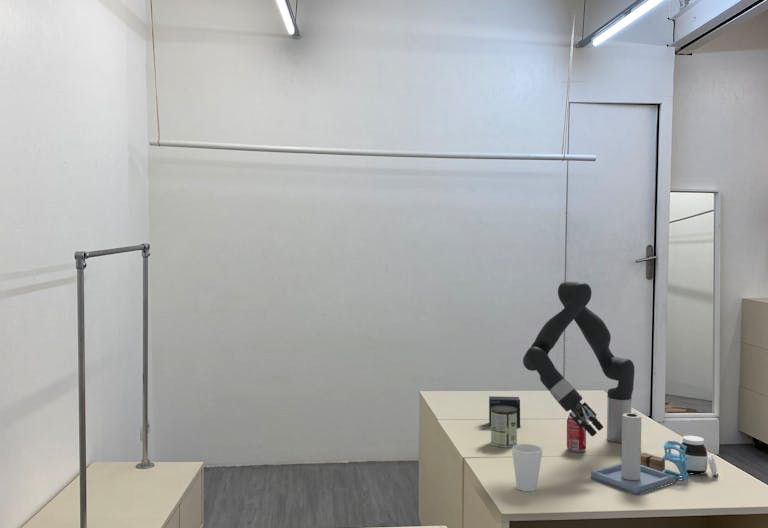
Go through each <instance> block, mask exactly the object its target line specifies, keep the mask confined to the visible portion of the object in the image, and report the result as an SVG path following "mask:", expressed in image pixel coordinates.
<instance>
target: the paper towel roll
mask: <svg viewBox="0 0 768 528" xmlns="http://www.w3.org/2000/svg"><path fill="white" fill-rule="evenodd" d="M641 453H642V415H641V414H638V413H637V412H633V413H632V412H631V413H625V414H623V415H622V443H621V459H620V460H621V462H620V463H621V476H622V478H624V479H627V480H639V479H640V472H641Z"/></svg>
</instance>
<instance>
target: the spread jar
mask: <svg viewBox="0 0 768 528" xmlns="http://www.w3.org/2000/svg"><path fill="white" fill-rule="evenodd" d="M681 444H682V445H684V446H686V447H687V448H686V451H685V455H686V456H687V459H686V460H685V465H686V469H687V473H688V474H689V473H693V474H692V475H696V474H699V475H702V474H701V473H703V474H704V473H706V472H707V470H708V465H709V469H710V471H711V474H712V476H713V475H716V476H718V475H717V473H716V472H718V468H717V464H716V461H715V459H714V457H713V455H712V454H710V455H709V454H708V450H707V448H706V446H705V439H704V437H701V436H696V435H684V436H682V442H681ZM678 448H679V449H681V450H684V449H683V448H682V447H681V446H679V447H678ZM678 452H679V451H678ZM678 455H680V452H679V453H678ZM682 455H683V453H682ZM718 473H719V472H718Z"/></svg>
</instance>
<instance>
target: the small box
mask: <svg viewBox="0 0 768 528" xmlns="http://www.w3.org/2000/svg"><path fill="white" fill-rule="evenodd" d="M500 405H504V406H512V407H515V408H517V428H521V399H520V397H519V396H493V395H492V396H491V395H490V396H488V417H489V418H488V420H489V421H488V424H489V423H490V424H489V427H490V426H491V407H493V406H500Z"/></svg>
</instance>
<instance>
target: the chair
mask: <svg viewBox="0 0 768 528" xmlns="http://www.w3.org/2000/svg"><path fill="white" fill-rule="evenodd" d="M681 443H682V442H681ZM681 443H680V442H678V441H675V440H666V441H665V443H664V445H663V448H664V455H663V456H662V458H663V460H665V461H669V462H670V463H673V465H675V466H676V468H677V469H678V471H679V472H677V471H674V470H671V469H668V468H667V469H666V468H665V469H664V470H663V471H662V472H664V473H665V472H666V473H667V472H668V473H667V474H670V473H672V474H671V475H673V474H675V475H674V476H675V479H682V480H681V481H684V480H687V481H688V479H689V473H687V469H686V465H685V460H686V459H687V456H686V455H685V451H686V448H687V447H686V446H684V445H682V444H681ZM678 446H679V447H678ZM680 446H681V447H682V448H683V449H684V450H681V449H679V448H680ZM672 450H675V451H677V452H680V455H679V453H677V454H675V453H673V452H672ZM682 453H683V455H682ZM676 475H678V476H676ZM679 476H682V477H679ZM687 478H688V479H687Z"/></svg>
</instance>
